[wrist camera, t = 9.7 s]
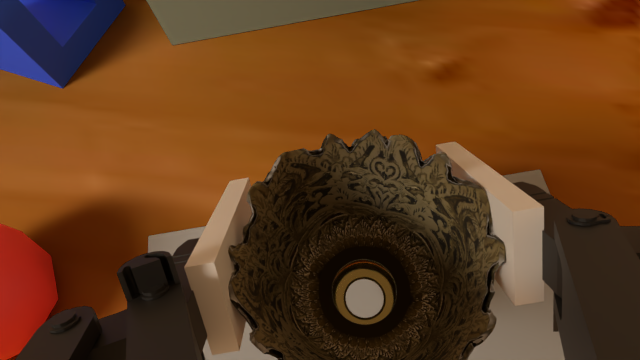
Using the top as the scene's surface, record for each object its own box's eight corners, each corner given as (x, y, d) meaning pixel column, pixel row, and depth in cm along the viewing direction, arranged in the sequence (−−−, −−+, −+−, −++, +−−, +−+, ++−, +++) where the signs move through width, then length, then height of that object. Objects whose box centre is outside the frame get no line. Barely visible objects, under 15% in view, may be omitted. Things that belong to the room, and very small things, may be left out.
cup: (313, 200, 21) (284, 103, 14) (467, 243, 19) (526, 159, 12) (255, 355, 18) (178, 338, 11) (428, 423, 16) (475, 456, 9)
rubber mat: (145, 465, 20) (139, 467, 19) (152, 238, 24) (148, 236, 24) (626, 391, 19) (632, 391, 18) (536, 173, 24) (540, 169, 23)
